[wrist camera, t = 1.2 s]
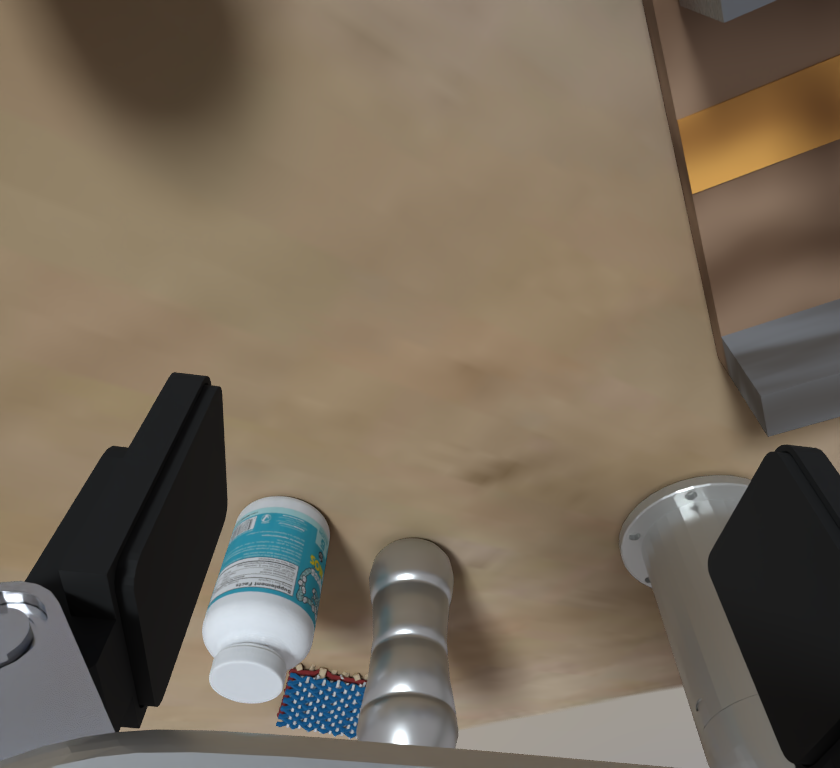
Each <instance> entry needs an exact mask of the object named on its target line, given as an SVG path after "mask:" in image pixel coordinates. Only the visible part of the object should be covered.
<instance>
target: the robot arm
mask: <svg viewBox="0 0 840 768" xmlns="http://www.w3.org/2000/svg"><path fill="white" fill-rule="evenodd" d="M226 512H227V482H226V462H225V441H224V421H223V401H222V390H221V387H219V386H211V381H210V378H209V377H208V376H201V375H193V374H184V373H176V372H174V373H172V374H171V375H170V377H169V378H168V380H167V382H166V383H165V385H164V387H163V389H162V390H161V392H160V394H159V396H158V397H157V399H156V401H155V403H154V404H153V406H152V408H151V410H150V411H149V413H148V415H147V417H146V418H145V420H144V422H143V423H142V425H141V427H140V429H139V430H138V432H137V434H136V436H135V437H134V439H133V441H132V443H131V444H130V446H129V448H127V447H118V446H112V447H110V448H108V449H107V450H106V451H105V453H104V454H103V455H102V457H101V458H100V460H99V462H98V463H97V465H96V466H95V468H94V470H93V471H92V473H91V475H90V476H89V478H88V480H87V481H86V483H85V484H84V486H83V488H82V489H81V491H80V493H79V494H78V496H77V497H76V499H75V501H74V502H73V504H72V506H71V507H70V509H69V510H68V512H67V514H66V515H65V517H64V519H63V520H62V522H61V523H60V525H59V527H58V528H57V530H56V532H55V533H54V535H53V536H52V538H51V540H50V541H49V543H48V545H47V546H46V548H45V549H44V551H43V553H42V554H41V556H40V558H39V559H38V561H37V563H36V564H35V566H34V567H33V569H32V571H31V572H30V574H29V576H28V577H27V579H26V580H25V582H23V581H14V582H1V583H0V768H672V767H661V766H650V765H638V764H627V763H615V762H605V761H593V760H582V759H570V758H558V757H547V756H535V755H524V754H513V753H502V752H501V753H500V752H490V751H478V750H466V749H454V748H442V747H430V746H418V745H405V744H393V743H381V742H369V741H357V740H345V739H333V738H320V737H305V736H289V735H274V734H259V733H243V732H228V731H207V730H144V731H128V732H119V730H120V727H128V728H140V726H141V723H142V720H143V717H144V715H145V712H146V709H147V706H154V707H158V706H159V705H160V703H161V701H162V699H163V697H164V694H165V691H166V688H167V685H168V683H169V680H170V677H171V674H172V671H173V668H174V665H175V662H176V660H177V657H178V654H179V651H180V648H181V645H182V642H183V639H184V637H185V634H186V631H187V628H188V625H189V622H190V619H191V616H192V614H193V611H194V608H195V605H196V602H197V599H198V596H199V593H200V591H201V588H202V585H203V582H204V579H205V576H206V573H207V570H208V568H209V565H210V562H211V559H212V556H213V553H214V550H215V547H216V545H217V542H218V539H219V536H220V533H221V530H222V527H223V524H224V521H225V517H226ZM619 549H620V553H621V557H622V560H623V562H624V565H625V567H626V569H627V570H628V571H629V573H630V574H631V575H632V576H633V577H634V578H636V579H637V580H638V581H639V582H641V583H643V584H645V585H647V586H649V587H651V588H652V589H653V592H654V595H655V598H656V602H657V605H658V608H659V611H660V614H661V617H662V621H663V624H664V627H665V630H666V633H667V636H668V639H669V643H670V646H671V649H672V652H673V655H674V658H675V662H676V665H677V668H678V671H679V674H680V677H681V680H682V684H683V687H684V690H685V693H686V696H687V699H688V702H689V706H690V709H691V711H692V715H693V718H694V721H695V725H696V728H697V731H698V734H699V737H700V740H701V744H702V746H703V750H704V753H705V756H706V759H707V762H708V765H709V767H710V768H840V475H839V473H838V472H837V470H836V469H835V468H834V466H833V465H832V463H831V462H830V461H829V459H828V458H827V456H826V455H825V454H824V453H823V452H822V451H821V450H819V449H817V448H811V447H802V446H794V445H781V446H780V447H778V448H777V449H776V450H775V452H769V453H768V454H767V455H766V456H765V457H764V459H763V461H762V463H761V464H760V466H759V468H758V469H757V471H756V473H755V475H754V476H753V478H752V480H750V479H747V478H742V477H736V476H728V475H711V476H702V477H695V478H691V479H687V480H683V481H680V482H677V483H674V484H672V485H669V486H666V487H664V488H663V489H661V490H659V491H657V492H655V493H653V494H651V495H650V496H649V497H647V498H646V499H645V500H643V501H642V502H641V503H639V504H638V505H637V507H636V508H635V509H634V510H633V511H632V512H631V513H630V514H629V516H628V517H627V519H626V520H625V522H624V523H623V526H622V529H621V531H620V534H619Z"/></svg>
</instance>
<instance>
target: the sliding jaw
mask: <svg viewBox="0 0 840 768" xmlns="http://www.w3.org/2000/svg"><path fill="white" fill-rule="evenodd" d="M774 1H776V0H679V2H680V6H682V7H685V8H687V9H690V10H692V11H695V12H697V13H700V14H702V15H705V16H708V17H710V18H713V19H715V20H718V21H720V22H723V23H725V22H728V21H730V20H732V19H734V18H737V17H739V16H741V15H744V14H746V13H748V12H751V11H753V10H755V9H758V8H760V7H762V6H764V5H767V4H769V3H771V2H774Z"/></svg>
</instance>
